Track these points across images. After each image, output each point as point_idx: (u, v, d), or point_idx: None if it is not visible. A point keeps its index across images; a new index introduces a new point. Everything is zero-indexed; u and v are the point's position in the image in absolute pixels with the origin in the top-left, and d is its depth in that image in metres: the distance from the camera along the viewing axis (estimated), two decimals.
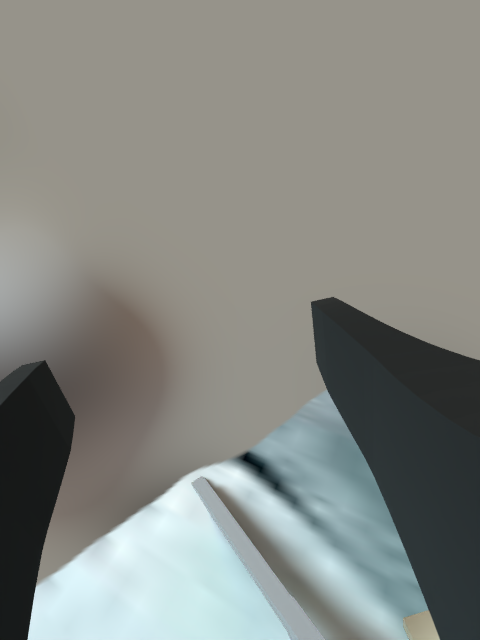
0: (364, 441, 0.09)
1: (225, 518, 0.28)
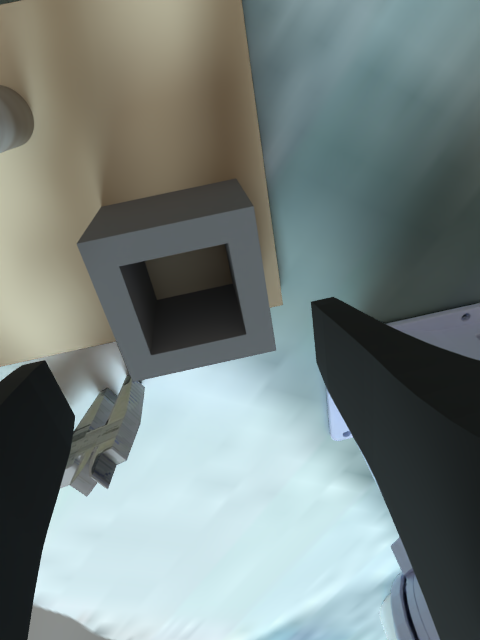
0: (364, 441, 0.09)
1: None
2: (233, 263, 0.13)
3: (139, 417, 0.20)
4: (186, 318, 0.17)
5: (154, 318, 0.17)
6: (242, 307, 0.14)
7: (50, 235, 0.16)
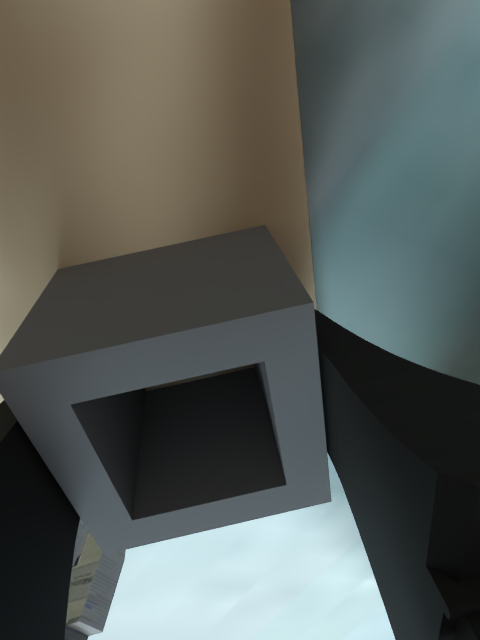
0: (332, 448, 0.09)
1: None
2: (271, 390, 0.08)
3: None
4: (188, 435, 0.11)
5: (140, 432, 0.11)
6: (282, 450, 0.09)
7: None
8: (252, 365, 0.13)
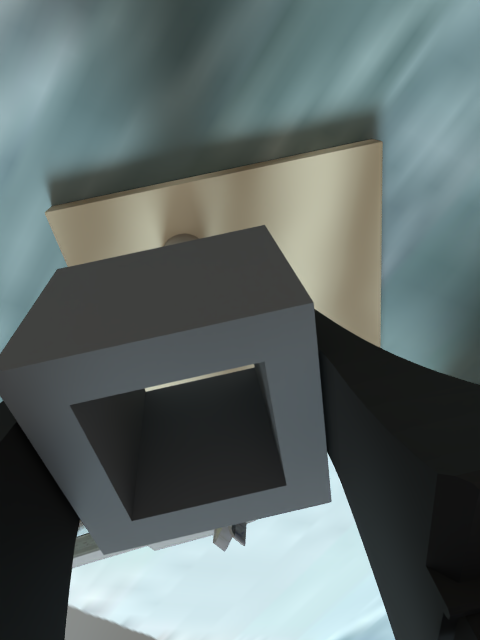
0: (332, 448, 0.09)
1: None
2: (271, 390, 0.08)
3: None
4: (188, 436, 0.11)
5: (140, 432, 0.11)
6: (282, 450, 0.09)
7: None
8: None
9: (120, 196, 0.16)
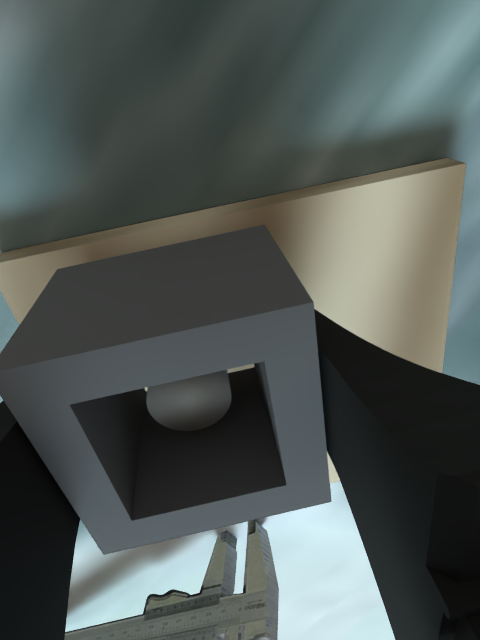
0: (332, 448, 0.09)
1: None
2: (271, 390, 0.08)
3: (276, 580, 0.18)
4: (188, 436, 0.11)
5: (140, 432, 0.11)
6: (282, 450, 0.09)
7: None
8: None
9: (95, 241, 0.11)
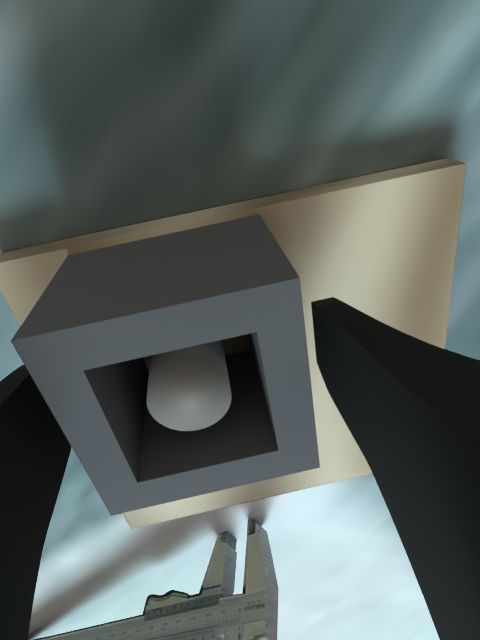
0: (364, 441, 0.09)
1: None
2: (263, 359, 0.09)
3: (275, 580, 0.18)
4: None
5: (144, 407, 0.12)
6: (274, 417, 0.09)
7: None
8: None
9: (95, 241, 0.11)
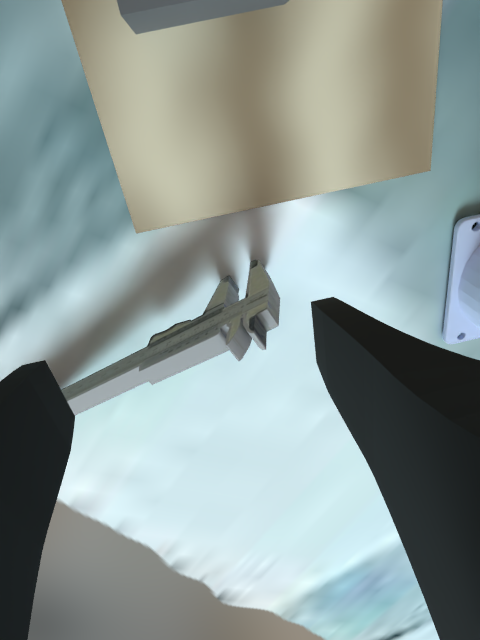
0: (364, 441, 0.09)
1: None
2: None
3: (277, 293, 0.19)
4: None
5: None
6: None
7: (214, 70, 0.16)
8: (384, 139, 0.18)
9: None
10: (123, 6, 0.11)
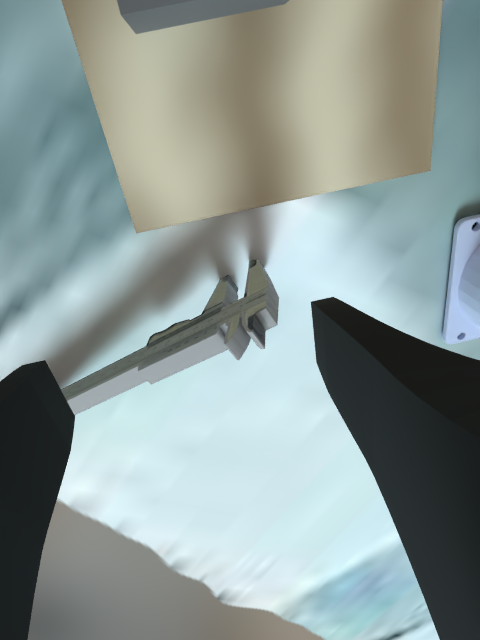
0: (364, 441, 0.09)
1: None
2: None
3: (276, 293, 0.19)
4: None
5: None
6: None
7: (214, 70, 0.16)
8: (384, 139, 0.18)
9: None
10: (123, 6, 0.11)
